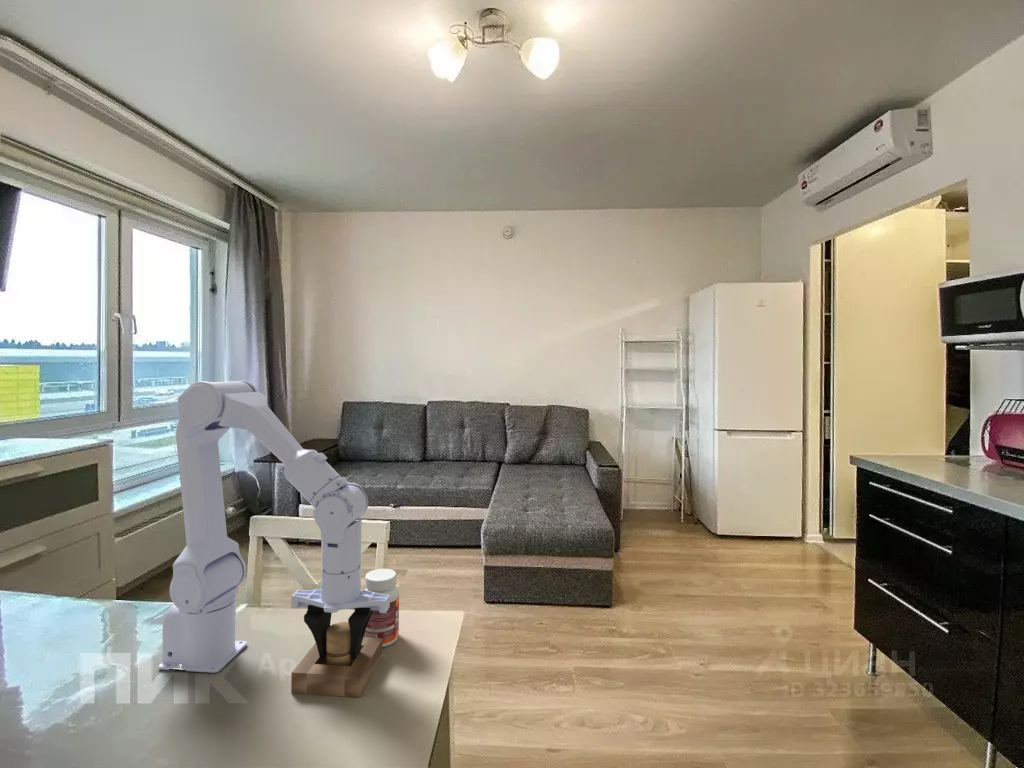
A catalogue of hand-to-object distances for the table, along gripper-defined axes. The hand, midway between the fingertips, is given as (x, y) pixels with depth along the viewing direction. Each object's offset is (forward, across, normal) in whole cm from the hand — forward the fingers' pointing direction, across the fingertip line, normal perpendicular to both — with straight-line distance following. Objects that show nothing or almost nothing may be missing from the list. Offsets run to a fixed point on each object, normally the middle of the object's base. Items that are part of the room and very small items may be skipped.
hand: (340, 654), depth 76 cm
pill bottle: (+3, +3, +10) cm, 11 cm away
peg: (+3, 0, 0) cm, 3 cm away
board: (+3, 0, 0) cm, 3 cm away
